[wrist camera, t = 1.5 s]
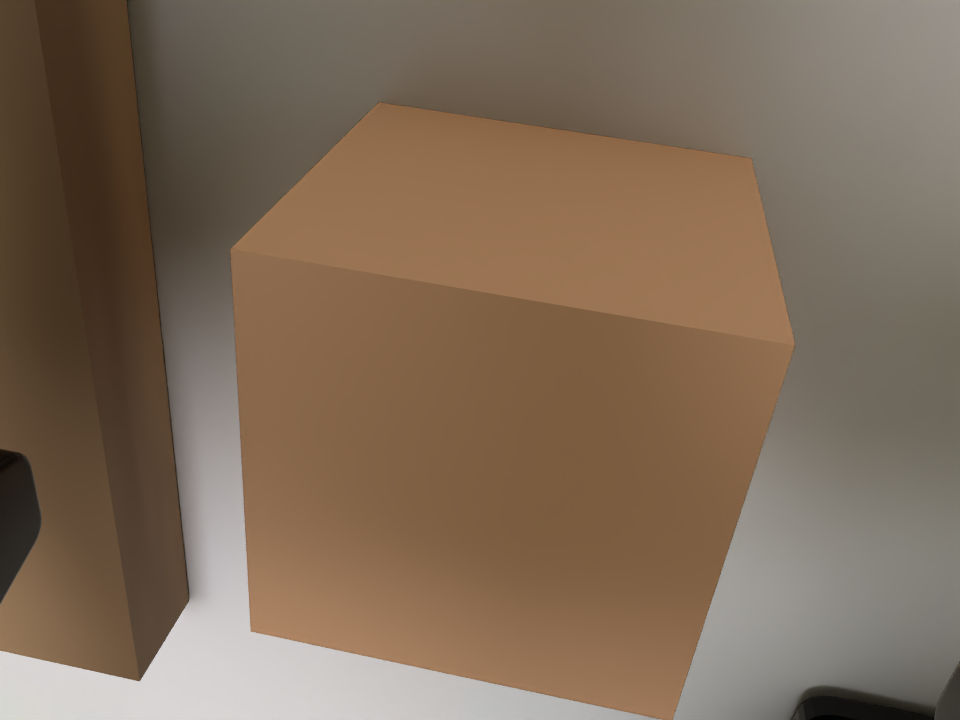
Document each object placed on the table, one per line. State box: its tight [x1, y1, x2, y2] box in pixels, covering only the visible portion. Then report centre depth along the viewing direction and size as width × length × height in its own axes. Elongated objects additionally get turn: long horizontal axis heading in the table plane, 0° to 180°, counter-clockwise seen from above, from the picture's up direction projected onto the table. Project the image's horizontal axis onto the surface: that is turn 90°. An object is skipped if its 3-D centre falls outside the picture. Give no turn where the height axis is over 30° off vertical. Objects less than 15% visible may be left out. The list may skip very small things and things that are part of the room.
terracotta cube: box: [230, 102, 795, 720], centre depth 11 cm, size 5×5×5 cm
